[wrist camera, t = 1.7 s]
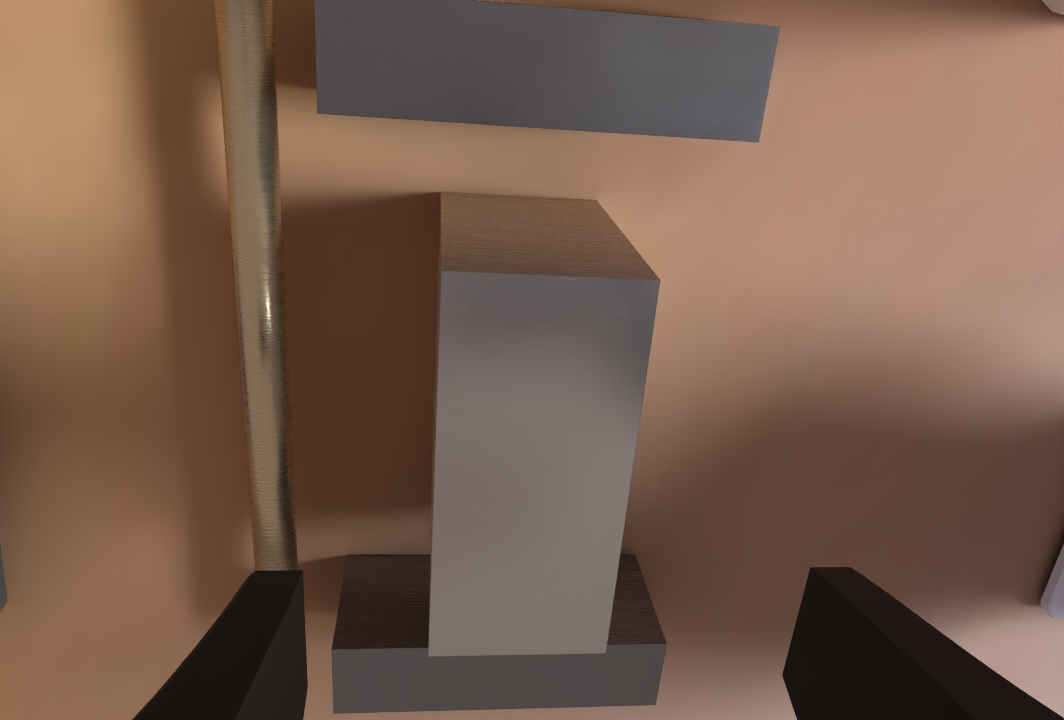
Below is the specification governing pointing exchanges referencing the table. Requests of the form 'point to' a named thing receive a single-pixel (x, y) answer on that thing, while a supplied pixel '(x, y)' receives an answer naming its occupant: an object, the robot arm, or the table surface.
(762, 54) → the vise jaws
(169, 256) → the table surface
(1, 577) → the bracket
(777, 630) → the table surface
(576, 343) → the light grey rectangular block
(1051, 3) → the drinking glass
